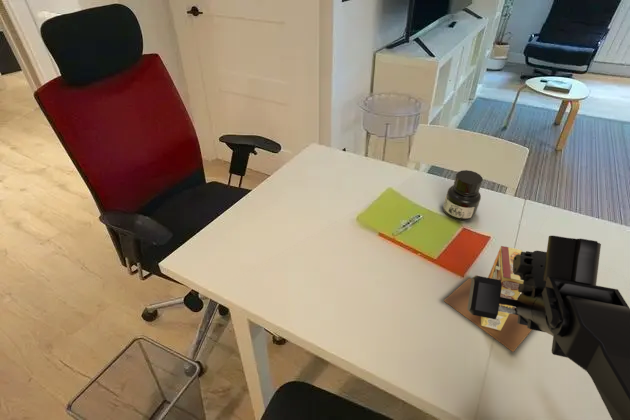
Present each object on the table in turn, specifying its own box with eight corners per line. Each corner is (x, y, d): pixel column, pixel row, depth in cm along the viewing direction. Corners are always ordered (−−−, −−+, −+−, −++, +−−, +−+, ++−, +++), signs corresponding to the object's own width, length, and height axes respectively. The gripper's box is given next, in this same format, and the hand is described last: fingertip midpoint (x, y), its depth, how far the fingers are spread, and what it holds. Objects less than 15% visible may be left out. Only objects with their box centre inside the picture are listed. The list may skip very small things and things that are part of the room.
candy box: (501, 331, 76) (528, 282, 66) (479, 326, 77) (502, 276, 68) (499, 298, 83) (523, 249, 73) (479, 293, 84) (500, 244, 74)
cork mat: (536, 323, 78) (537, 322, 78) (512, 352, 73) (513, 350, 73) (469, 278, 88) (469, 277, 87) (443, 301, 83) (444, 299, 82)
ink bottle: (435, 211, 107) (444, 176, 100) (450, 198, 112) (459, 164, 105) (467, 226, 102) (480, 191, 95) (481, 211, 107) (494, 177, 100)
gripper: (638, 268, 50) (579, 265, 65) (490, 243, 54) (467, 246, 69) (629, 352, 49) (571, 330, 64) (479, 320, 53) (458, 306, 68)
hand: (515, 300), depth 66 cm, fingers open, 9 cm apart
